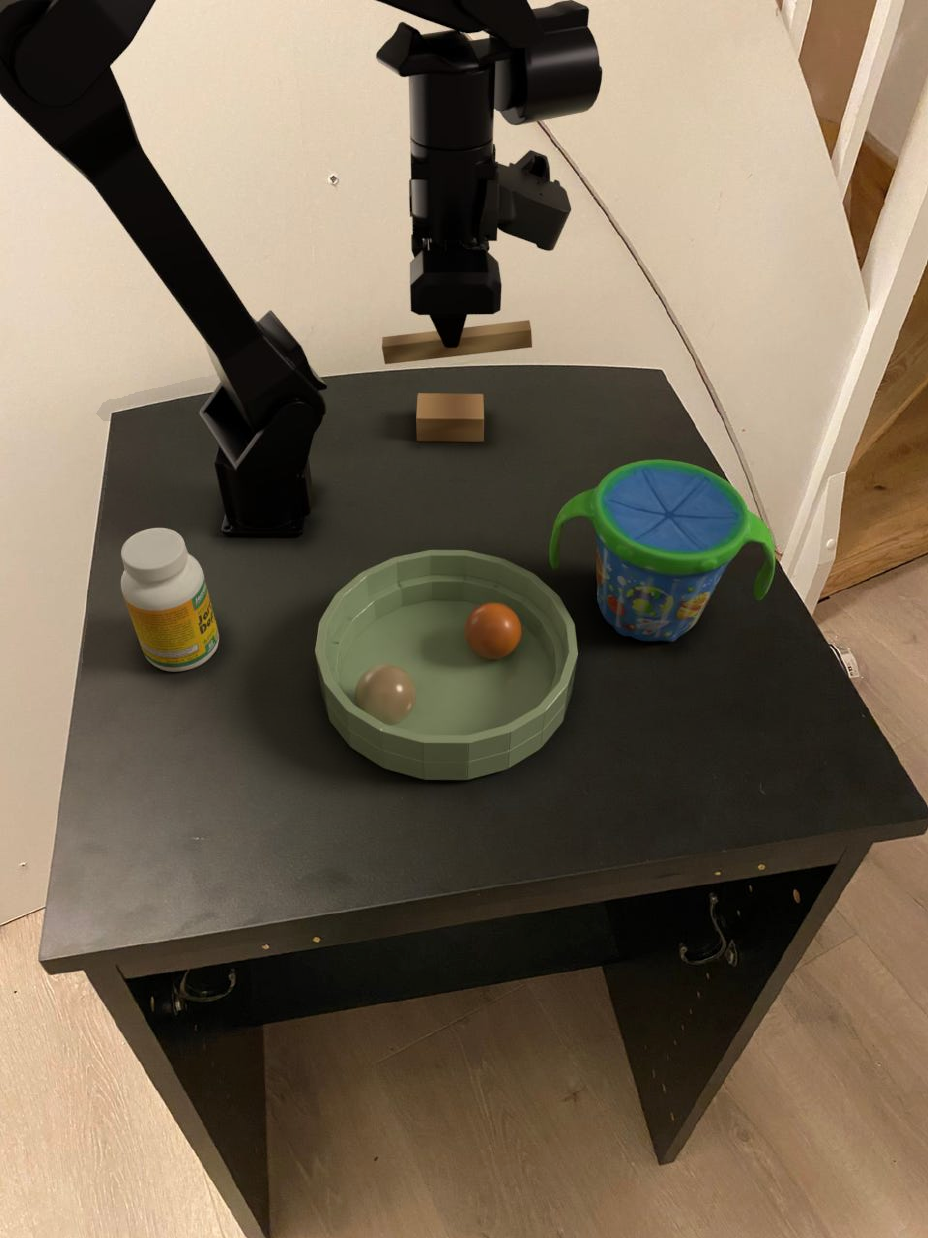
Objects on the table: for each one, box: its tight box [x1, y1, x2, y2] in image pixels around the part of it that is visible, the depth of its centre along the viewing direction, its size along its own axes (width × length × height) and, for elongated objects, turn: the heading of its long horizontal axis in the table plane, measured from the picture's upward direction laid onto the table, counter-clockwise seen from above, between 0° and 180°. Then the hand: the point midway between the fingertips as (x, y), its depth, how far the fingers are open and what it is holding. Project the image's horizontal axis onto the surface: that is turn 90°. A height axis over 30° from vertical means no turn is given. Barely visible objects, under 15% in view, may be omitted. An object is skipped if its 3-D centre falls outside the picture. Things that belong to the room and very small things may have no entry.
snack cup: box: [548, 459, 776, 643], centre depth 67 cm, size 16×10×10 cm
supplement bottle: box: [120, 527, 220, 673], centre depth 64 cm, size 5×5×10 cm
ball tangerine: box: [464, 602, 522, 659], centre depth 65 cm, size 4×4×4 cm
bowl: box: [314, 549, 579, 781], centre depth 64 cm, size 17×17×4 cm
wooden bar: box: [381, 319, 533, 365], centre depth 76 cm, size 12×2×2 cm, turn 93°
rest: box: [415, 392, 485, 443], centre depth 85 cm, size 6×4×2 cm, turn 90°
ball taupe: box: [355, 664, 416, 725], centre depth 61 cm, size 4×4×4 cm
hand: (451, 340), depth 76 cm, fingers closed on wooden bar, 2 cm apart
